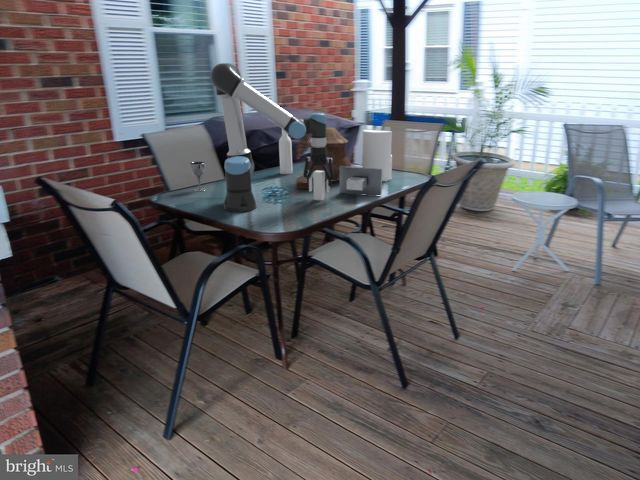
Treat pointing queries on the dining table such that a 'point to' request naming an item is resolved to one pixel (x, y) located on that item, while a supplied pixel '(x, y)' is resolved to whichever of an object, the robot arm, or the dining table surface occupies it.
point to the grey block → (360, 180)
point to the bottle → (285, 154)
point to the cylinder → (378, 151)
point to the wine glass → (198, 172)
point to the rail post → (319, 185)
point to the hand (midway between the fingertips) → (319, 191)
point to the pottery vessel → (334, 152)
